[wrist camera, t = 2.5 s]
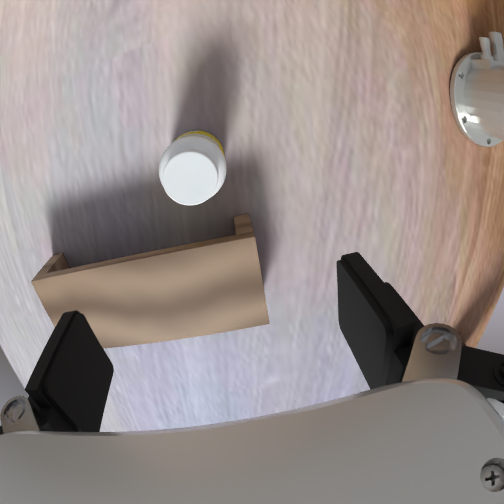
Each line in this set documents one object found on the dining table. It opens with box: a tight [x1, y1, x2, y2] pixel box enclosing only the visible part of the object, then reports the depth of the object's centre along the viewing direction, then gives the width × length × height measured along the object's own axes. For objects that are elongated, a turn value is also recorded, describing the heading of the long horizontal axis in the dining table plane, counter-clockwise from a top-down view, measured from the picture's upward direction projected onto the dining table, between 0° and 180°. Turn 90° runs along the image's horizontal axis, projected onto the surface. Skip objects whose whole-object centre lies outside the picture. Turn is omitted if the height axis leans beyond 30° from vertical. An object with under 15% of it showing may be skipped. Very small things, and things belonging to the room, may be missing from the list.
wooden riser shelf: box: [31, 214, 270, 348], centre depth 33 cm, size 10×24×6 cm, turn 99°
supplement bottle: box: [159, 130, 226, 205], centre depth 26 cm, size 5×5×10 cm
